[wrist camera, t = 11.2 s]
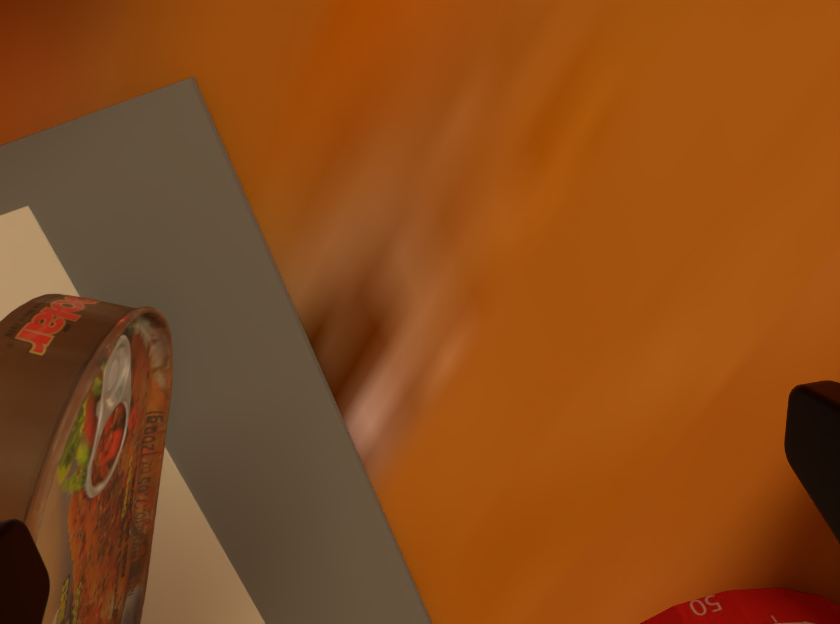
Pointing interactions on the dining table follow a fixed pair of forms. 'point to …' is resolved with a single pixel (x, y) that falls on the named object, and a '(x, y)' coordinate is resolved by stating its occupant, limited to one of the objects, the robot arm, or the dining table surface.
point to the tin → (85, 447)
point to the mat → (208, 368)
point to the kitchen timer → (752, 609)
